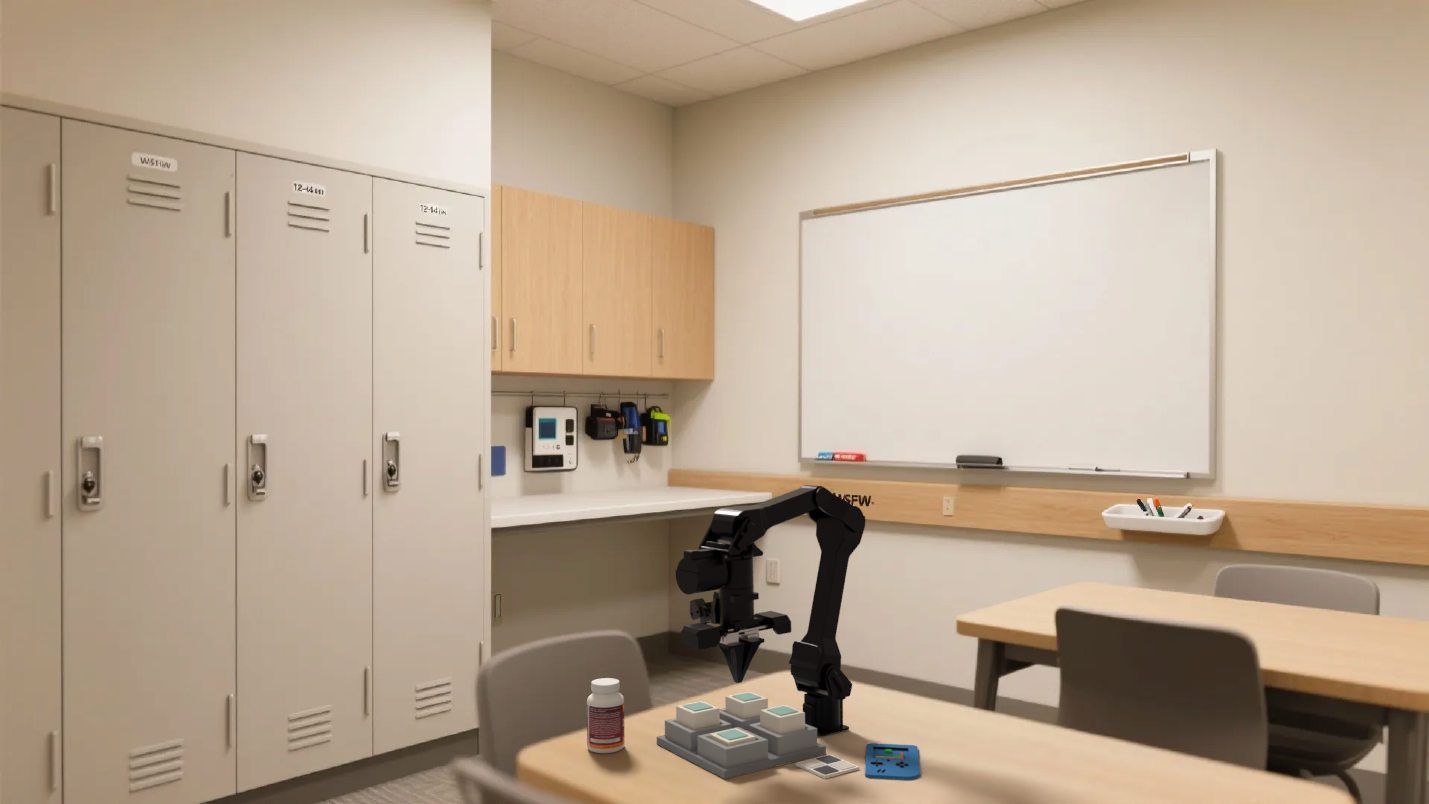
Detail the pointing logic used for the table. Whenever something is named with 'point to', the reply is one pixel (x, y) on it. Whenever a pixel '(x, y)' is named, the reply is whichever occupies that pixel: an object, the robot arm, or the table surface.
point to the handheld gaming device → (892, 761)
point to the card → (827, 766)
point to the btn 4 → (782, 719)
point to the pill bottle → (605, 716)
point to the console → (739, 746)
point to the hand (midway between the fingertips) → (737, 682)
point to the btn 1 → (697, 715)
